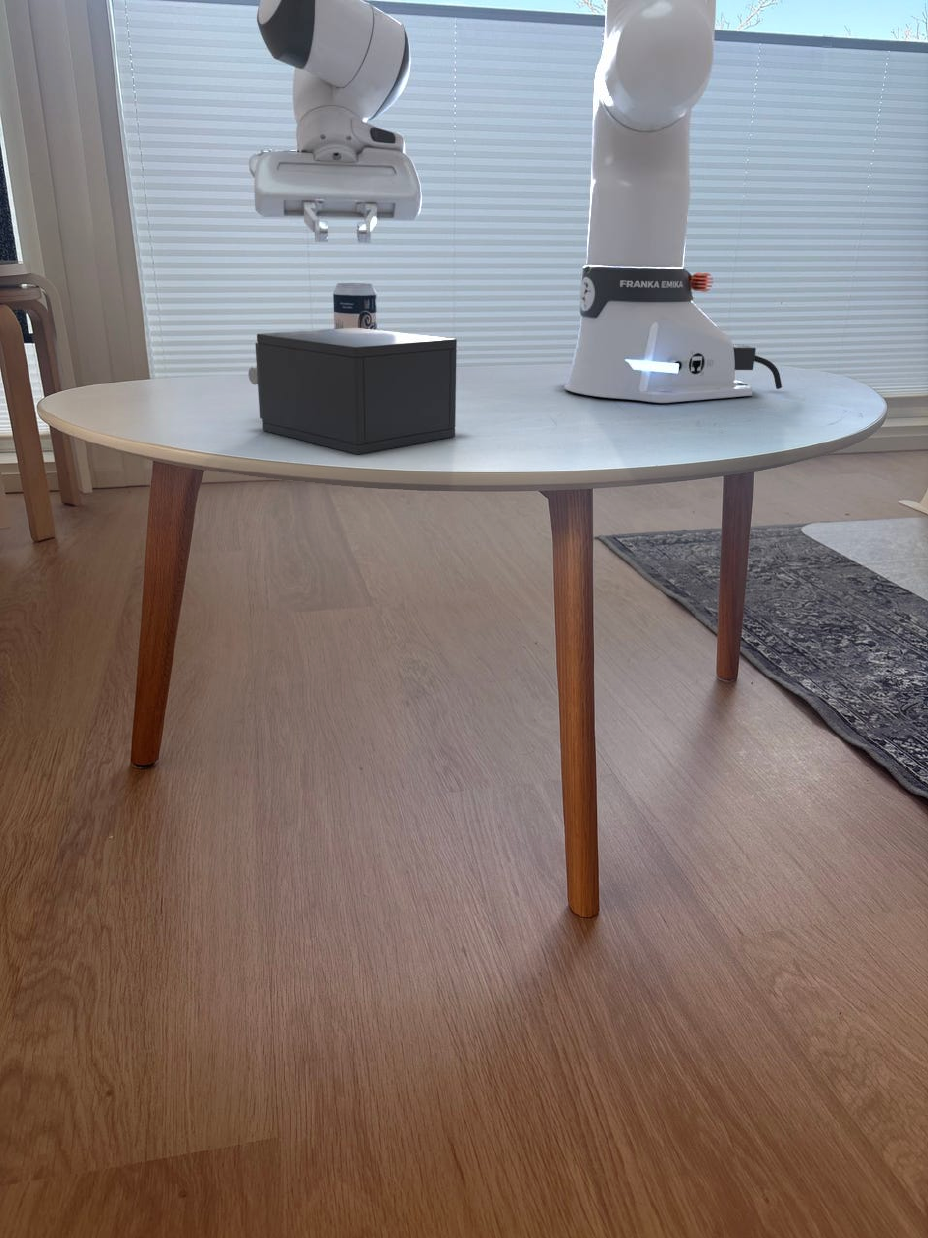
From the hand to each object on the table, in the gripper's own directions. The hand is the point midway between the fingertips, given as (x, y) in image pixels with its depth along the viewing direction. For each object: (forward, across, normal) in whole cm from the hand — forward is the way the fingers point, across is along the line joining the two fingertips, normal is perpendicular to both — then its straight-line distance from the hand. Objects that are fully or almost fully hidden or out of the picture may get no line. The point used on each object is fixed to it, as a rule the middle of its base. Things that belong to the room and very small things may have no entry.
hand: (343, 238), depth 111 cm
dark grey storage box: (+36, -2, -13) cm, 39 cm away
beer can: (+21, 0, +3) cm, 21 cm away
